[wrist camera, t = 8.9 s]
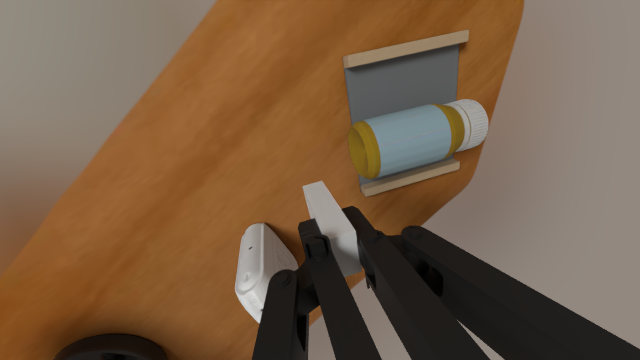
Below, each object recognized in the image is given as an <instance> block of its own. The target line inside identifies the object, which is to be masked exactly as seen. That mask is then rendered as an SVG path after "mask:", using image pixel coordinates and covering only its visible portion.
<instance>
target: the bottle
mask: <svg viewBox="0 0 640 360" xmlns="http://www.w3.org/2000/svg"><path fill="white" fill-rule="evenodd" d="M487 131H488V118H487V114H486V112H485V110H484V108H483V107H482V106H481V105H480V104H479V103H478V102H476V101H474V100H470V99H464V100H459V101H455V102H451V103H448V104H443V105H440V104H428V105H424V106H420V107H416V108H411V109H407V110H403V111H399V112H395V113H391V114H387V115H382V116H378V117H374V118H370V119H366V120H362V121H359V122H356V123H354V124H353V126H352V127H351V128H350V130H349V135H348V144H349V151H350V155H351V158H352V161H353V164H354V166H355V169H356V170H357V172H358V174H360V175H361V176H362V177H364V178H366V179H369V180H370V179H374V178H378V177H382V176H385V175H389V174H393V173H396V172H400V171H403V170H407V169H410V168H414V167H418V166H421V165H425V164H428V163H432V162H436V161H439V160H442V159H445V158H447V157H448V156H450V155H451V154H452V153H454V152H458V151H462V150H466V149H470V148H473V147H476V146H478V145H479V144H480V143H481V142H482V141H483V140H484V139H485V137H486V135H487Z"/></svg>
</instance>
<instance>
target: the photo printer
mask: <svg viewBox="0 0 640 360" xmlns="http://www.w3.org/2000/svg"><path fill="white" fill-rule="evenodd" d="M284 269H290V270H293V271H295V270H296V269H298V264H297V262H296V259H295V258H294V256H293V255H292V254H291V252H290V251H289V250H288V248H287V247H286V246H285V245H284V244H283V242H282V241H281V240H280V239H279V238H278V237H277V235H276V234H275V233H274V232H273V231H272V230H271V229H270V228H269V227H268V226H267V225H266V224H265V223H262V224H261V223H257V224H253V225H251V226H250V227H248V228H247V230H246V231H245V234H244V235H243V236H242V240H241V246H240V254H239V261H238V268H237V276H236V283H235V292H236V294H237V296H238V298H239V300H240V302H241V303H242V305H243V306H244V307H245V309H246V310H247V311H248V312H249V313H250V315H251V316H252V317H253V318H254V319H255V320H256V321H257V322H258V323H259V324H260V320H261V316H262V311H263V307H264V302H265V298H266V293H267V288H268V284H269V281H270V279H271V277H272V276H273V275H274V274H275V273H277V272H278V271H280V270H284Z"/></svg>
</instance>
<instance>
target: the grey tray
mask: <svg viewBox="0 0 640 360" xmlns="http://www.w3.org/2000/svg"><path fill="white" fill-rule="evenodd" d="M468 35H469V30H464V31H459V32H455V33H450V34H445V35H441V36H436V37H431V38H427V39H422V40H418V41H413V42H408V43H404V44H399V45H394V46H390V47H385V48H380V49H376V50H371V51H366V52H362V53H357V54H352V55H348V56H344V57H343V65H344V72H345V79H346V87H347V94H348V101H349V109H350V116H351V123H352V126H353V124H354V123H356V122H359V121H362V120H366V119H370V118H374V117H378V116H382V115H387V114H391V113H395V112H399V111H403V110H407V109H411V108H416V107H420V106H424V105H428V104H440V105H443V104H448V103H451V102H455V101H456V92H457V74H458V55H459V43H462V42H467V41H468ZM459 167H460V162H459V161H457V160H455V159H453V153H452V154H451V155H450V156H448V157H447V158H445V159H442V160H439V161H436V162H432V163H428V164H425V165H421V166H418V167H414V168H410V169H407V170H403V171H400V172H396V173H393V174H389V175H385V176H382V177H378V178H374V179H370V180H369V179H366V178H364V177H362V176H361V175H360V174H359V182H360V189H361V192H362V193H363V194H364V196H365V197H367V196H371V195H374V194H377V193H381V192H384V191H387V190H391V189H394V188H397V187H401V186H404V185H407V184H411V183H414V182H418V181H421V180H424V179H428V178H431V177H434V176H438V175H441V174H444V173H448V172H451V171H455V170H458V169H459Z"/></svg>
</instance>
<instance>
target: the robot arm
mask: <svg viewBox="0 0 640 360" xmlns="http://www.w3.org/2000/svg"><path fill="white" fill-rule="evenodd" d="M302 187H303V190H304V194H305V198H306V202H307V206H308V210H309V214H310V218H311V219H310V220H307V221H304V222H301V223H299V226H298V231H299V234H300V238H301V241H302V245H303V248H304V251H305V256H306V258H305V261H304V263H303V264H302V265H301V267H299V268H298V269H296V270H295V271H293V270H290V269H284V270H280V271H278V272H277V273H275V274H274V275H273V276H272V277H271V279H270V281H269V284H268V288H267V293H266V298H265V302H264V307H263V311H262V316H261V320H260V325H259V329H258V334H257V338H256V343H255V347H254V352H253V356H252V360H308V336H309V333H308V332H309V313H310V312H311V311H312V310H314V309H315V308H316V307H318V306H319V305H320V307H321V310H322V313H323V317H324V320H325V323H326V327H327V330H328V333H329V337H330V340H331V344H332V347H333V351H334V354H335V358H336V360H382V359H381V357H380V355H379V352H378V350H377V348H376V346H375V344H374V342H373V339H372V337H371V335H370V333H369V331H368V329H367V326H366V324H365V322H364V320H363V318H362V315H361V313H360V311H359V309H358V307H357V305H356V302H355V300H354V298H353V296H352V294H351V291H350V289H349V287H348V285H347V283H346V280H345V278H344V277H347V276H349V275H352V274H355V273H358V272H361V271H362V267H363V268H364V270H365V277H366V283H367V287H368V289H369V288H370V286H371V288H372V290H373V291H374V293H375V295H376V297H377V298H378V300H379V302H380V304H381V306H382V308H383V309H384V311H385V313H386V315H387V316H388V318H389V320H390V322H391V324H392V325H393V327H394V329H395V331H396V333H397V334H398V336H399V338H400V340H401V341H402V343H403V345H404V347H405V349H406V350H407V352H408V354H409V356H410V357H411V359H412V360H490V359H489V358H488V356H487V355H486V354H485V353H484V352H483V350H482V349H481V348H480V347H479V346H478V345H477V343H476V342H475V341H474V340H473V339H472V337H471V336H470V335H469V334H468V333H467V332H466V330H465V329H464V328H463V327H462V326H461V324H460V323H462V324H463V325H464V326H465V327H466V328H468V329H469V330H470V331H471V332H473V333H474V334H475V335H476V336H477V337H479V338H480V339H481V340H482V341H483V342H484V343H486V344H487V345H488V346H489V347H490V348H492V349H493V350H494V351H495V352H496V353H498V354H499V355H500V356H501V357H502V358H504V359H505V360H640V349H639V348H637V347H635V346H633V345H631V344H630V343H628V342H626V341H625V340H623V339H621V338H619V337H617V336H616V335H613V334H612V333H610V332H608V331H607V330H605V329H603V328H601V327H600V326H598V325H596V324H594V323H592V322H591V321H589V320H587V319H585V318H584V317H582V316H580V315H578V314H576V313H575V312H573V311H571V310H569V309H568V308H566V307H564V306H562V305H560V304H559V303H557V302H555V301H553V300H552V299H550V298H548V297H546V296H544V295H543V294H541V293H539V292H537V291H535V290H534V289H532V288H530V287H528V286H527V285H525V284H523V283H521V282H520V281H517V280H516V279H514V278H512V277H510V276H509V275H507V274H505V273H503V272H501V271H500V270H498V269H496V268H495V267H493V266H491V265H489V264H487V263H485V262H484V261H482V260H480V259H479V258H477V257H475V256H473V255H471V254H470V253H468V252H466V251H464V250H463V249H461V248H459V247H457V246H455V245H454V244H452V243H450V242H448V241H446V240H445V239H443V238H441V237H439V236H438V235H436V234H434V233H432V232H431V231H429V230H427V229H425V228H423V227H420V226H408V227H405V228H404V229H403V230H402V232H401V235H394V236H387V235H385V234H384V233H382V232H381V231H378V230H375V229H374V228H373V226H372V225H371V224H370V223H369V221H368V220H367V219H366V218H365V217H364V215H363V214H362V213H361V212H360V210H359V209H358V208H356V207H354V206H350V207H347V208H343V209H341V208H340V207H339V205H338V204H337V202H336V201H335V200H334V198H333V197H332V195H331V194H330V192H329V191H328V189H327V188H326V186H325V185H324V183H323V182H322V181H319V182H316V183H312V184H309V185H306V186H302ZM361 265H362V267H361ZM369 284H370V286H369ZM456 319H457V320H458V321H459V322H460V323H459V322H458V321H457V320H456ZM53 360H167V357H166V355H165V353H164V352H163V350H162V349H161V348H160V347H158V346H157V345H156V344H154V343H152V342H150V341H148V340H146V339H143V338H140V337H135V336H130V335H120V334H110V335H100V336H94V337H89V338H86V339H82V340H79V341H77V342H75V343H72V344H70V345H69V346H67V347H65V348H64V349H63V350H61V351H60V352H59V353H58V354H57V355H56V356H55V358H54V359H53Z"/></svg>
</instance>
